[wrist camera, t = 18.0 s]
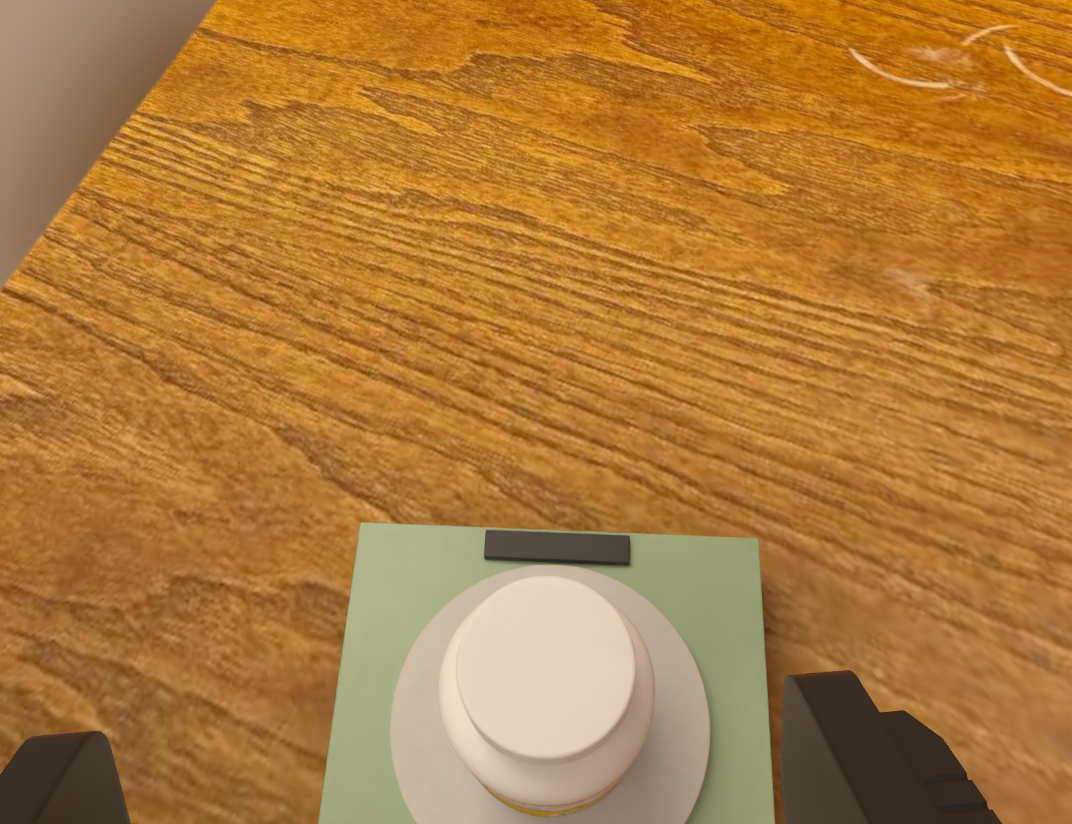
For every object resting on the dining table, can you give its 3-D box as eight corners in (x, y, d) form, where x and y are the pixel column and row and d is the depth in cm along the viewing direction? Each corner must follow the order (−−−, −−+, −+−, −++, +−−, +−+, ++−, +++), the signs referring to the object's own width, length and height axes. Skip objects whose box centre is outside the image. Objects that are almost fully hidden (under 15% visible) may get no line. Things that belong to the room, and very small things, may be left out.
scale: (323, 937, 30) (293, 944, 27) (374, 547, 36) (355, 513, 32) (763, 962, 29) (790, 974, 26) (743, 563, 35) (763, 530, 32)
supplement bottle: (503, 613, 31) (481, 510, 22) (659, 675, 30) (701, 593, 21) (434, 776, 28) (379, 734, 20) (600, 849, 27) (620, 839, 19)
